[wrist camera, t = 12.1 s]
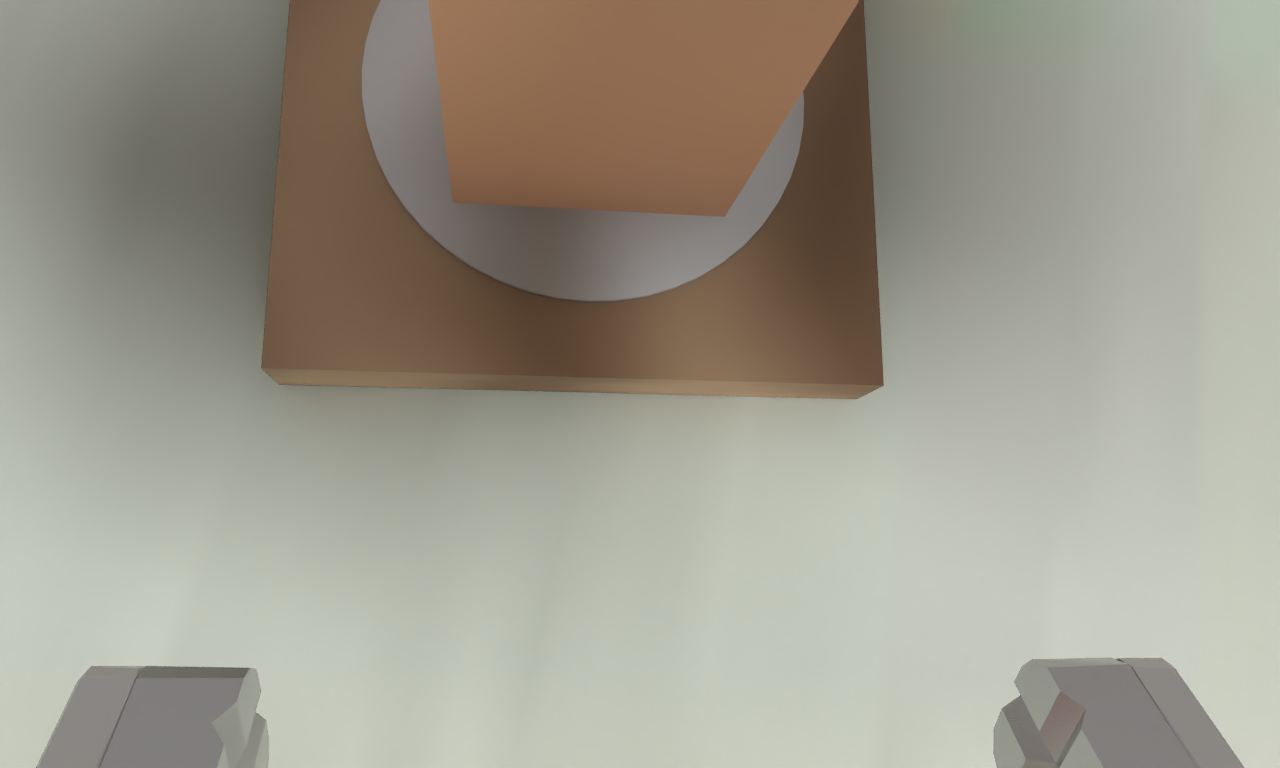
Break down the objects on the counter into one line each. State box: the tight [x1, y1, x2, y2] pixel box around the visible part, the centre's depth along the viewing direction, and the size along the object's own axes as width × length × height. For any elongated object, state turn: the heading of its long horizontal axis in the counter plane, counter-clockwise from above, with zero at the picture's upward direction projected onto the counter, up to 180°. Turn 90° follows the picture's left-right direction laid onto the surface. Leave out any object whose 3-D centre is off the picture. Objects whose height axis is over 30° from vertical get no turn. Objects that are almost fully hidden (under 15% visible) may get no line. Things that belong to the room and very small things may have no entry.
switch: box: [261, 0, 884, 399], centre depth 19 cm, size 12×12×4 cm
